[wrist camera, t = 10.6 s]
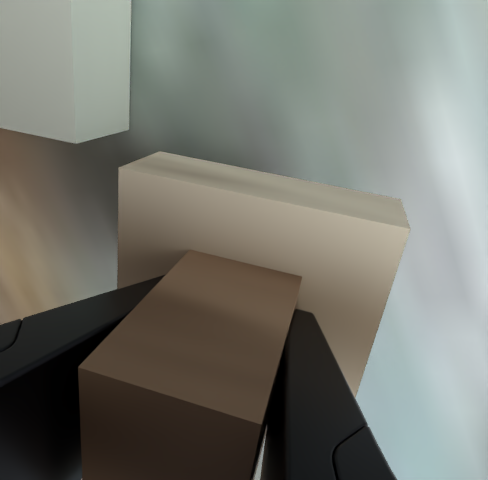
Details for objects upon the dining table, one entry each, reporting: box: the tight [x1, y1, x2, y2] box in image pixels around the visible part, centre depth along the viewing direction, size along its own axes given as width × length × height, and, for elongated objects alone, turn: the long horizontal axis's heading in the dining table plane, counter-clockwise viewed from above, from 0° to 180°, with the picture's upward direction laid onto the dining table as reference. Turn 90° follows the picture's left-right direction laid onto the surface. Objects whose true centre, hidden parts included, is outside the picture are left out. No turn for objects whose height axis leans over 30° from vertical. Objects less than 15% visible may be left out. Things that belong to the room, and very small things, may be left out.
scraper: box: [78, 151, 410, 480], centre depth 8 cm, size 6×6×6 cm
